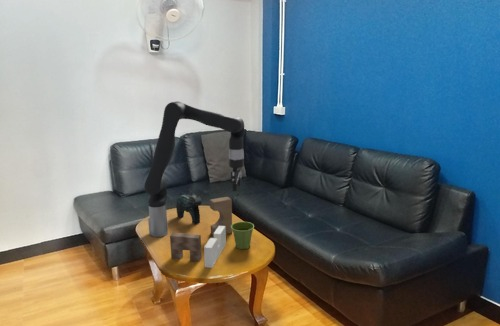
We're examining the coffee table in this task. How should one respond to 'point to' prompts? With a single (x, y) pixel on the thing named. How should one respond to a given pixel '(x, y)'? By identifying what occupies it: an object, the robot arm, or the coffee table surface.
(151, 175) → the robot arm
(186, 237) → the walnut notched plate
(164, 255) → the coffee table surface
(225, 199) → the decorative block
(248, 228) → the plant pot
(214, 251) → the white notched plate
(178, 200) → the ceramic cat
